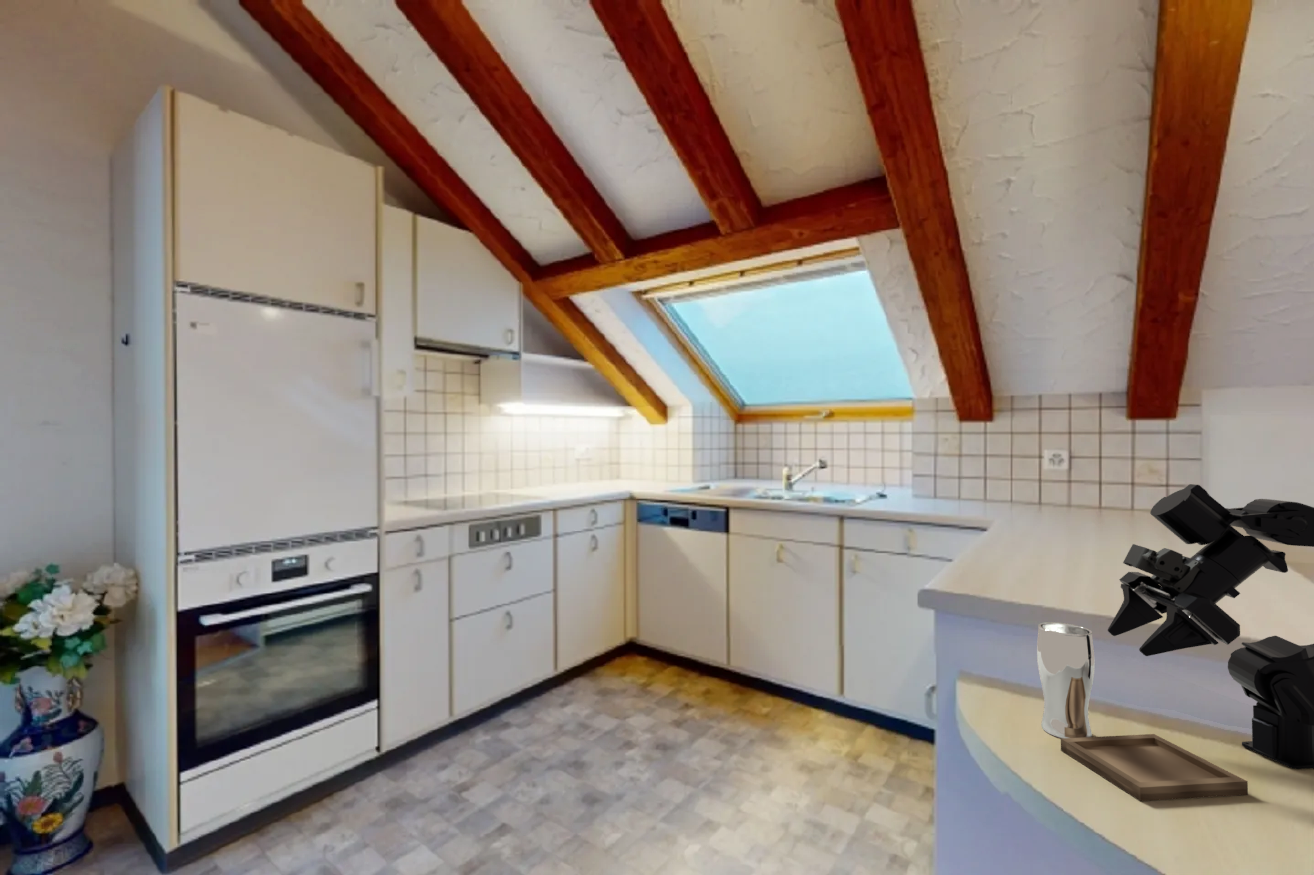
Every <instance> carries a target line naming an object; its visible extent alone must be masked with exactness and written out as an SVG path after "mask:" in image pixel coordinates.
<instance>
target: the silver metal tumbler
mask: <svg viewBox="0 0 1314 875" xmlns="http://www.w3.org/2000/svg"><path fill="white" fill-rule="evenodd" d="M1037 627H1038V630H1037V639H1036V640H1037V641H1036V658H1037V659H1036V661H1037V668H1038V673H1039V678H1040V682H1041V683H1040V684H1041V688H1042V694H1043V700H1044V706H1043V708H1044V709H1043V714H1042V718H1041V729H1042V730H1043V731H1045V732H1046V733H1047V734H1049V735H1051V736H1054V737H1056V738H1059V739H1061V738H1082V737H1093V734H1092V729H1091V728H1092V727H1091V723H1090V718H1089V703H1090V698H1091V693H1092V688H1093V683H1094V677H1095V665H1096V664H1095V663H1096V661H1095V651H1094V650H1095V647H1094V640H1093V631H1092V630H1091V629H1088V628H1087V627H1084V626H1080V625H1077V624H1072V623H1064V622H1057V621H1053V622H1052V621H1046V622H1041V623H1038V625H1037Z"/></svg>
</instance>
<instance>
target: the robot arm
mask: <svg viewBox="0 0 1314 875" xmlns="http://www.w3.org/2000/svg"><path fill="white" fill-rule="evenodd" d="M1150 515H1151V517H1154V518H1155V519H1156V520H1157V521H1159V523H1160V524H1162V525H1163V526H1164V527H1165V528H1167V529H1168V530H1169V531H1170V532H1171V533H1172V534H1174V535H1175V536H1176V537H1177V538H1178V539H1180V540H1181V541H1182V542H1183V543H1185V544H1186V545H1194V544H1198V545H1199V546H1203V547H1202V548H1200V550H1198V551H1197V552H1196V553H1194V554H1193V555H1192V556H1191V557H1188V556H1183V554H1182V553H1180V552H1177V551H1175V550H1173V549H1169V548H1165V547H1163V548H1161V549H1160V550H1158V551H1156V550H1153V549H1150V548H1147V547H1144V546H1141V545H1138V544H1135V543H1132V545H1131V546H1130V548H1129V550H1128V552H1127V554H1126V556H1125V558H1124V560H1123V561H1122V564H1124V565H1126V566H1128V567H1131V568H1132V567H1133V568H1136V569H1138V570H1140V571H1142V572H1145V573H1147V574H1151V576H1150V575H1147V574H1145V573H1141V572H1139V571H1128V572H1126V573H1125V574H1124V575H1123V576H1122V577H1120V579H1119V582H1121V584H1120V588H1121V589H1122V594H1123V600H1122V601H1123V602H1121V603H1122V604H1121V605H1120V606H1119V609H1118V611H1117V613H1116V615H1115V616H1114V618H1113V619H1112V621H1111V623H1110V625H1109V627H1108V628H1107V632H1108V634H1110V635H1112V637H1116V636H1118V635H1121V634H1125V633H1127V632H1130V631H1132V630H1135V629H1137V628H1138V629H1139V627H1142V626H1145V625H1148V624H1150V623H1152V622H1155V621H1157V620H1159V619H1162V618H1164V616H1163V615H1162V614H1166V619H1165V621H1163V622H1162V623H1161V624H1160V626H1158V628H1157V629H1156V630H1155V631H1153V633H1151V635H1150V636H1149V637H1148V638H1147V639H1146V640H1145V641H1144V643H1142V644H1141V646H1140V647H1139V648H1138V651H1139V652H1140V654H1142V655H1143V656H1145V657H1150V656H1155V655H1159V654H1164V653H1168V652H1169V653H1170V652H1174V651H1178V650H1182V649H1187V648H1188V649H1190V648H1195V647H1202V646H1207V645H1213V646H1216V645H1218V644H1219V642H1221V643H1224V644H1226V645H1230V644H1231V643H1232V642H1233V641H1235V640H1236V639H1237V638H1239V637H1240V636H1241V625H1240V624H1239V623H1238V622H1237V621H1236V620H1235V619H1234V618H1232V617H1231V616H1230V614H1228V613H1227V612H1225V611H1224V610H1223V608H1221V607H1220V606H1219V605H1217V603H1218V602H1220V601H1221V600H1222V599H1223V598H1225V597H1230V598H1231V599H1235V598H1237V597H1238V596H1239V595H1241V593H1240V591H1238V589H1236V588H1237V587H1238V586H1240V585H1241V584H1242V583H1243V582H1245V581H1246V580H1247V579H1248V578H1250V577H1251V576H1252V575H1254V573H1256V572H1257V571H1259V570H1260V569H1261V568H1263V567H1264V568H1265V569H1267V570H1269V571H1270V570H1271V571H1274V572H1279V573H1287V572H1288V571H1289V569H1288V568H1289V567H1288V563H1287V562H1286V552H1284V551H1281V550H1276V549H1270V548H1269V547H1268V546H1266V545H1265V544H1264V543H1263V542H1262V541H1260V540H1263V541H1267V542H1272V543H1276V544H1281V545H1287V546H1293V547H1294V546H1295V547H1310V548H1311V547H1313V548H1314V506H1311V505H1308V504H1304V503H1301V502H1296V501H1289V500H1288V501H1287V500H1277V499H1270V498H1257V499H1254V500H1252V501H1250V502H1248V503H1246V505H1245V506H1244V507H1242V506H1241V507H1233V508H1225V507H1224V505H1222V504H1221V503H1219V501H1217V500H1216V499H1215V498H1214V497H1212V496H1211V495H1210V494H1209V493H1208V491H1207V490H1206V489H1205V488H1204V487H1202V486H1201V485H1199V484H1196V483H1195V484H1194V483H1193V484H1190V483H1189V484H1188V485H1187V486H1186V487H1184V488H1181V489H1179V490H1176V491H1175V492H1172V493H1171V494H1169V495H1168V496H1163V497H1161V499H1160V500H1158V501H1157V502H1156V503H1155V504H1154V505H1153V506H1152V507H1151V509H1150ZM1234 527H1236V528H1242V529H1243V530H1244V531H1245V533H1246V534H1247V535H1244V534H1242V533H1241V532H1239V531H1238V530H1237V529H1236V528H1234ZM1218 641H1219V642H1218ZM1241 645H1242V646H1244V647H1240V648H1238V649H1235V650H1233V651H1232V652H1231V653H1230V657H1229V659H1228V661H1227V670H1228V672H1229V675H1230V676H1231V678H1232V680H1234V681H1235V682H1236V683H1237V684H1238V685H1240V686H1241V688H1242V690H1243V691H1242V692H1244V694H1245V696H1246V697H1247V698H1251V699H1252V700H1254V701H1255V702H1256V705H1252V716H1253V717H1252V718H1251V741H1250V740H1249V741H1247V740H1246V741H1241V746H1242V747H1245V748H1246V749H1248V750H1250V751H1253V752H1255V753H1257V754H1260V755H1262V756H1264V757H1266V758H1268V759H1270V760H1273V761H1275V762H1277V763H1279V764H1281V765H1284V766H1285V767H1287V768H1290V769H1294V770H1305V769H1309V770H1310V769H1314V643H1311V644H1305V645H1298V644H1296V643H1294V642H1292V641H1290V640H1288V639H1285V638H1283V637H1280V636H1277V635H1271V636H1267V637H1265V638H1262V639H1260V640H1258V641H1254V642H1245V641H1243V642H1241Z"/></svg>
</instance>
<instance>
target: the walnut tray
mask: <svg viewBox="0 0 1314 875" xmlns="http://www.w3.org/2000/svg"><path fill="white" fill-rule="evenodd" d="M1060 751H1061V752H1063V753H1064V754H1066V755H1068V756H1069V757H1071V758H1072V759H1074V760H1075V761H1077V762H1078V763H1079V764H1081V765H1082V766H1084V767H1086V768H1088V769H1090V771H1092V772H1094V773H1096V774H1097V775H1098V776H1100V777H1101V778H1103V779H1105V780H1107V781H1108V782H1110V784H1111V783H1112V785H1114V786H1115V787H1117V788H1118V789H1120V790H1122V791H1123V792H1125V793H1126V794H1128V795H1129V796H1131V797H1133V798H1134V799H1136V800H1138V801H1139V802H1151V801H1152V802H1153V801H1166V800H1167V801H1170V800H1171V801H1173V800H1183V799H1184V800H1186V799H1200V798H1203V799H1204V798H1219V797H1233V796H1234V797H1235V796H1248V795H1249V791H1248V783H1249V782H1248V780H1245V779H1244V778H1242V777H1240V776H1238V775H1236V774H1234V773H1233V772H1230V771H1228V770H1227V769H1225V768H1222V767H1220V766H1218V765H1216V764H1215V763H1212V762H1210V761H1209V760H1206V759H1204V757H1203V758H1202V757H1200V756H1198V755H1196V754H1194V753H1192V752H1190V751H1189V750H1187V749H1185V748H1183V747H1181V746H1178V745H1177V744H1175V743H1173V742H1171V741H1169V740H1168V739H1165V738H1162V737H1161V736H1159V735H1157V734H1155V733H1149V734H1148V733H1147V734H1127V735H1126V734H1125V735H1108V736H1106V735H1104V736H1092V737H1082V738H1060Z"/></svg>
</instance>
